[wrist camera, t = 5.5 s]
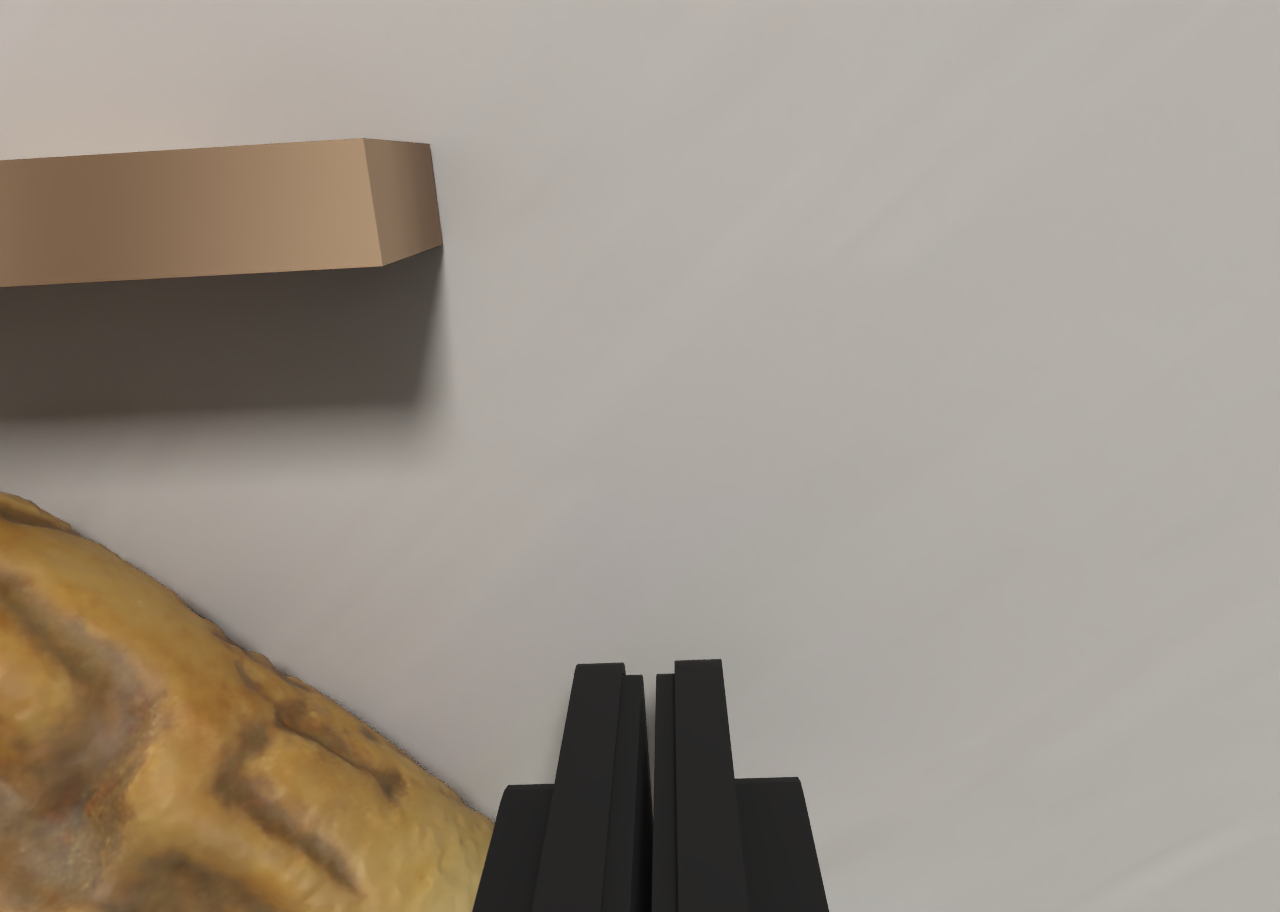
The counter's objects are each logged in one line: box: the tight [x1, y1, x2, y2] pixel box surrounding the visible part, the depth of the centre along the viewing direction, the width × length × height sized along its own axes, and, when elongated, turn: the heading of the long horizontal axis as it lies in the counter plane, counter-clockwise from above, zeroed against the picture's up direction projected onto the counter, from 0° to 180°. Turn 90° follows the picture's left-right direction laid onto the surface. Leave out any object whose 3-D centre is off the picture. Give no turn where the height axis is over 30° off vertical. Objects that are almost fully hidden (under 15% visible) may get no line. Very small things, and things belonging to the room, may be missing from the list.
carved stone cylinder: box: [0, 493, 495, 912], centre depth 9 cm, size 8×4×4 cm, turn 51°
